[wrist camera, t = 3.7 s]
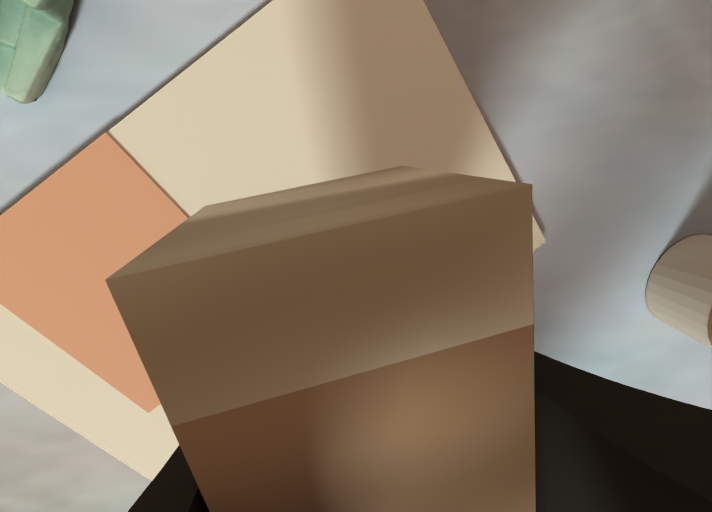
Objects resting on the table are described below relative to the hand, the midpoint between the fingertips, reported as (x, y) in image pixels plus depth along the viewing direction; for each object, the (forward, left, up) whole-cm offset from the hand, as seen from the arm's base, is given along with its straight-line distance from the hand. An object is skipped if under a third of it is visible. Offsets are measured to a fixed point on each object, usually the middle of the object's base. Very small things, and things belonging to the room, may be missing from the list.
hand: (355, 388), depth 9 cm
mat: (-2, +2, -9) cm, 9 cm away
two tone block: (0, 0, -2) cm, 2 cm away
